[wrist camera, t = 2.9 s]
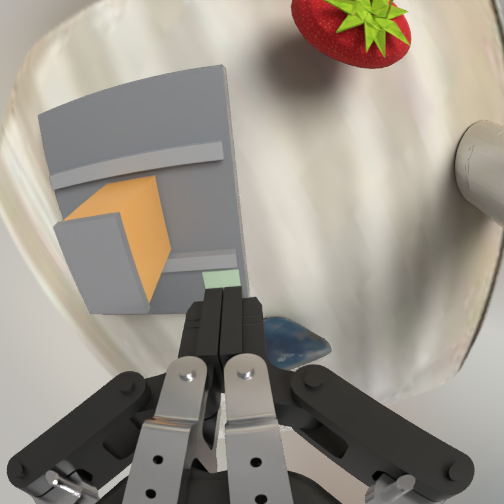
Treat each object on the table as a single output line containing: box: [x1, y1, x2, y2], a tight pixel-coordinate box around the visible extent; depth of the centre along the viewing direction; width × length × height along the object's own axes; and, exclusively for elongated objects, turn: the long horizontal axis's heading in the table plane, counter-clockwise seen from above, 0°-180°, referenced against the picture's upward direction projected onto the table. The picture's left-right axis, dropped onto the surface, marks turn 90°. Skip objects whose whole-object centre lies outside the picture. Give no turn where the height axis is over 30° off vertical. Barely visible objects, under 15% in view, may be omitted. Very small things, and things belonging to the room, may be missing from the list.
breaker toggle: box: [53, 175, 171, 314], centre depth 18 cm, size 4×6×7 cm
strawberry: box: [291, 0, 411, 69], centre depth 13 cm, size 6×8×10 cm
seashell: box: [263, 317, 331, 370], centre depth 30 cm, size 6×9×10 cm
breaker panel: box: [38, 65, 249, 315], centre depth 22 cm, size 15×20×4 cm
